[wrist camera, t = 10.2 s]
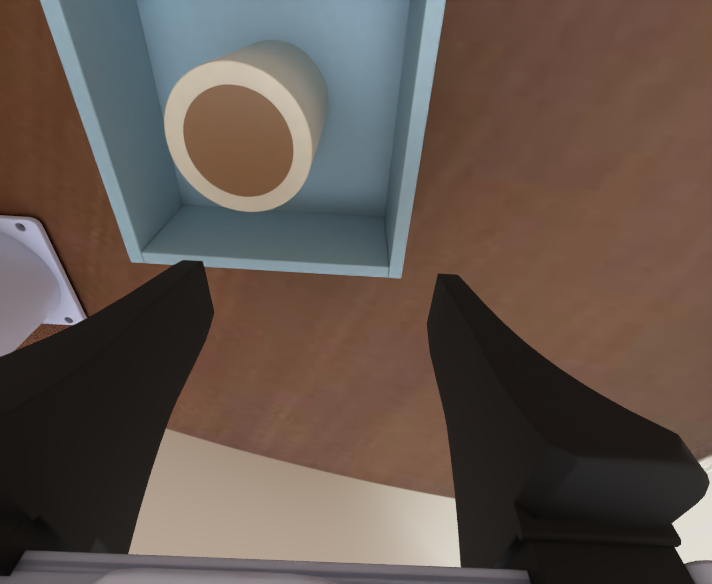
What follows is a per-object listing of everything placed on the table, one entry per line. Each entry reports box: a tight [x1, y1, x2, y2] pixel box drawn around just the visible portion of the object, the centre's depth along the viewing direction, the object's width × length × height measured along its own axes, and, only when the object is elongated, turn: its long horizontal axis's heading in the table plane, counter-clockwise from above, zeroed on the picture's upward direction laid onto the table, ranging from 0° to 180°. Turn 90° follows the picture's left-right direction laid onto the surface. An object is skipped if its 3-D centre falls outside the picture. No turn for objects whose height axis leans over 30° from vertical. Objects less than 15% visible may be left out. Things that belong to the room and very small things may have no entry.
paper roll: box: [164, 40, 329, 212], centre depth 15 cm, size 5×5×7 cm
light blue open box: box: [40, 0, 446, 278], centre depth 16 cm, size 12×12×6 cm
